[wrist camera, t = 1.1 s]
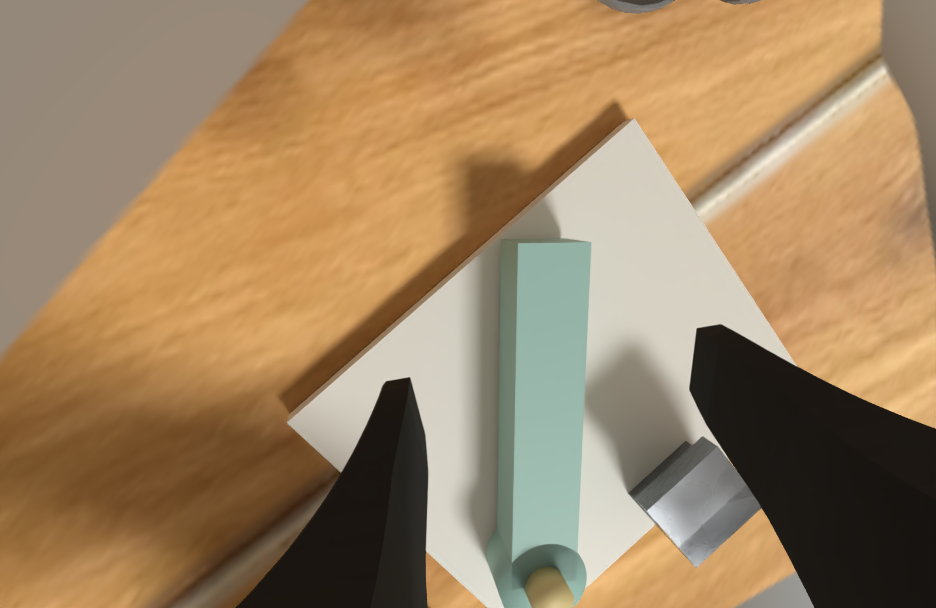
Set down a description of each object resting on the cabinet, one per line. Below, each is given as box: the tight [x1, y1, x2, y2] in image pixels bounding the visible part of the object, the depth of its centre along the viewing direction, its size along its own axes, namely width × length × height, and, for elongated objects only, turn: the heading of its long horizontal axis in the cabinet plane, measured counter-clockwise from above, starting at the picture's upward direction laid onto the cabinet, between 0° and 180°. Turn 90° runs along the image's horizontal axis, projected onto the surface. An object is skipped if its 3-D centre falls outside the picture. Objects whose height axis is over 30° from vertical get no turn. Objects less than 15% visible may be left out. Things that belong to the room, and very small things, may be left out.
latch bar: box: [487, 238, 591, 608], centre depth 22 cm, size 17×4×4 cm, turn 0°
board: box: [287, 118, 796, 608], centre depth 25 cm, size 20×17×1 cm
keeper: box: [628, 436, 761, 568], centre depth 25 cm, size 4×4×5 cm
